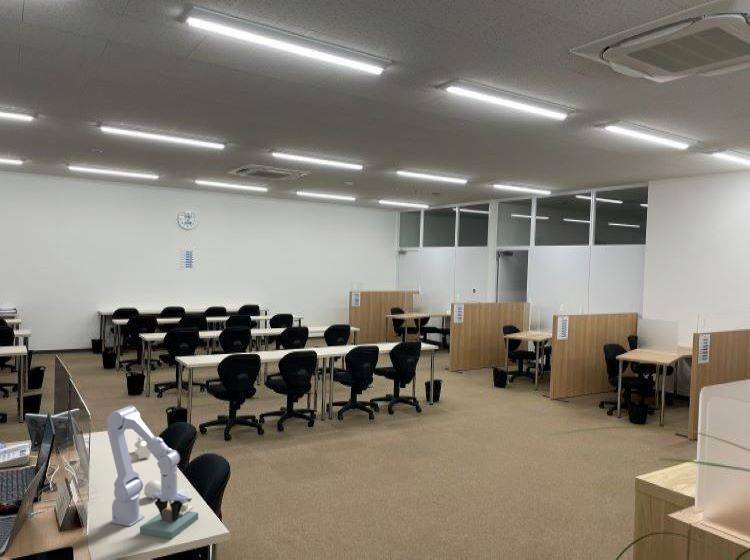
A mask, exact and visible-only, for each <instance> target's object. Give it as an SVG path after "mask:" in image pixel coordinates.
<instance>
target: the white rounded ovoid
mask: <svg viewBox="0 0 750 560" xmlns="http://www.w3.org/2000/svg"><path fill="white" fill-rule="evenodd" d="M143 492H144V495H145V496H146V497H147V498H149V499H152V494H153V493H154V492H161V481H159V480H156V479H153V480H150V481H148V482H147V483H146V484H145V485H144V489H143Z"/></svg>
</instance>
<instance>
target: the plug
mask: <svg viewBox="0 0 750 560" xmlns="http://www.w3.org/2000/svg"><path fill="white" fill-rule="evenodd" d="M161 522H163V523H169V524H172V523H173V522H175V521H173V514H172V509H171V506H167V508H166V509H164V510H162V519H161Z"/></svg>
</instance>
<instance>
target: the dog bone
mask: <svg viewBox="0 0 750 560" xmlns="http://www.w3.org/2000/svg"><path fill="white" fill-rule="evenodd" d="M134 447H135V448H137V449H135V450H134V453H135V454H136V455H137V458H138V459H139V460H143V459H147V460H148V459H149V458H150V457H151V454H152V453H151V452H150V451H149V450H148V449H147V443H146V442H145V441H144V440H143V439H142V438H141V437H140V436H139V437H138V438H137V441H135V442H134Z"/></svg>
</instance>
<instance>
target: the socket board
mask: <svg viewBox="0 0 750 560" xmlns="http://www.w3.org/2000/svg"><path fill="white" fill-rule="evenodd" d="M161 519H162V518H161V515H160V513H158V514H157V515H155V516H154V517H152V518H151V519H150V520H147V522H145V523H143V524H142V525H140V526H139V534H141V535H147V536H153V537H157V538H163V539H169V540H173V539H174V538H176V537H177V536H178V535H179V534H181V533H182V532H184V531H185V530H186V529H187V528H189V527H190V526H192V524H194V523H195V522H196V521H198V520H199V512H196V511H192V510H190V511H189V512H187V513H186V514H185V515H183V516H181V515H179V516H178V519H177V520H176V521H175V522H173V523H172V524H169V523H163V522H161Z"/></svg>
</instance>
